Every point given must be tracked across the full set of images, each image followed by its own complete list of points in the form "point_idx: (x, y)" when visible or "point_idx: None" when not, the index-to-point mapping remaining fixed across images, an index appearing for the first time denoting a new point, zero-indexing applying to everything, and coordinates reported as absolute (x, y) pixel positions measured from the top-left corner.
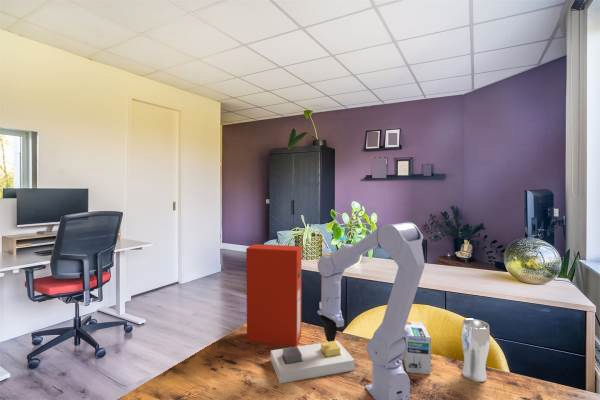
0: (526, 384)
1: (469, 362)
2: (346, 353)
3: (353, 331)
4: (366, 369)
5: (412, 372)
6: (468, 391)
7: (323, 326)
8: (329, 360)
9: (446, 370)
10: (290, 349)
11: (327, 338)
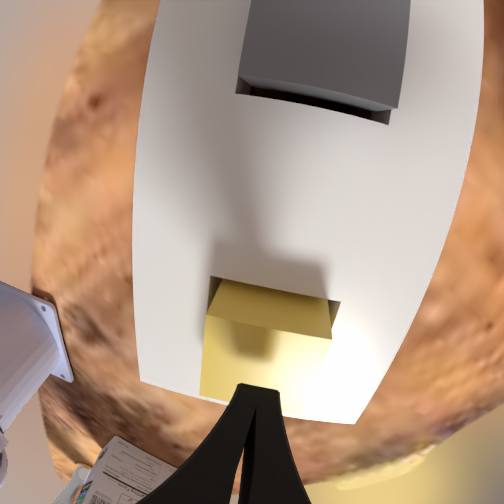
0: None
1: (73, 489)
2: None
3: (407, 467)
4: None
5: (111, 439)
6: (52, 437)
7: (301, 490)
8: (172, 280)
9: None
10: (375, 25)
11: (230, 401)
